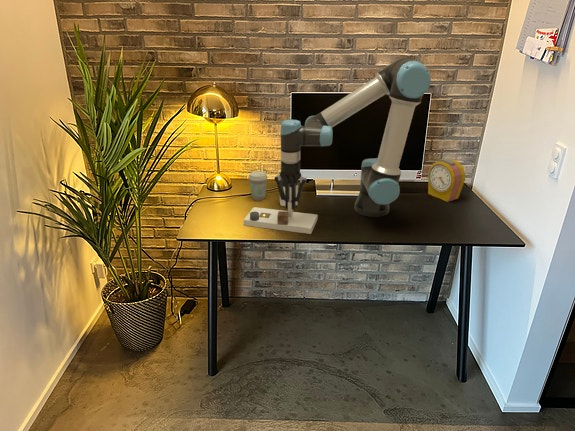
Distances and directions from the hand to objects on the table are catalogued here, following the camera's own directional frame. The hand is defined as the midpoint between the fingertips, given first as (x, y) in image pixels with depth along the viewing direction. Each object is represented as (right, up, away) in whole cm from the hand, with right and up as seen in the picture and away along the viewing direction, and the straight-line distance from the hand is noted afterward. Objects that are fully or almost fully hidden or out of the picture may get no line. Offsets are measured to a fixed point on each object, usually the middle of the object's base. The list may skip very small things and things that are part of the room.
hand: (290, 215), depth 186 cm
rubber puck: (-15, -1, 0) cm, 15 cm away
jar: (-1, +5, +20) cm, 21 cm away
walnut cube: (-3, -3, -3) cm, 5 cm away
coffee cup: (-15, +8, +25) cm, 30 cm away
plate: (-4, -3, +2) cm, 5 cm away
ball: (-11, -1, +3) cm, 11 cm away
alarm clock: (+72, +9, +29) cm, 79 cm away
